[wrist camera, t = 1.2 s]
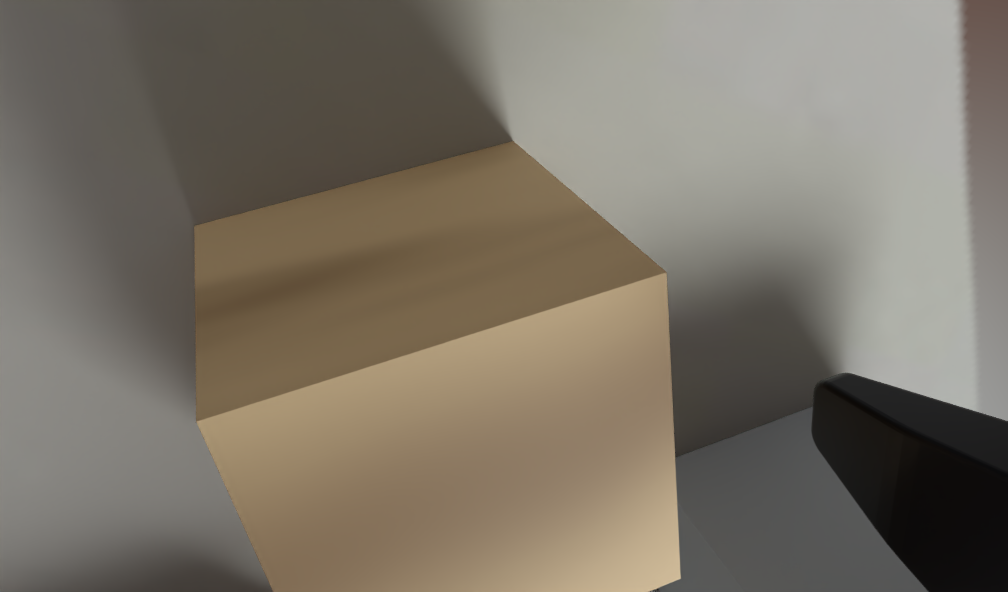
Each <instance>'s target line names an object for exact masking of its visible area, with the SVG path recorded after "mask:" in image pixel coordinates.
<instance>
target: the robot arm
mask: <svg viewBox="0 0 1008 592" xmlns="http://www.w3.org/2000/svg"><path fill="white" fill-rule="evenodd" d="M811 433H812V438H813V441H814V443H815V445H816V447H817V449H818V450H819V452H820V453H821V454H822V456H823V457H824V459H825V460H826V461H827V463H828V464H829V466H830V467H831V468H832V470H833V471H834V472H835V474H836V475H837V477H838V478H839V479H840V481H841V482H842V484H843V485H844V486H845V488H846V489H847V491H848V492H849V493H850V495H851V496H852V497H853V499H854V500H855V502H856V503H857V504H858V506H859V507H860V509H861V510H862V511H863V513H864V514H865V516H866V517H867V518H868V520H869V521H870V522H871V524H872V525H873V527H874V528H875V529H876V531H877V532H878V533H879V535H880V536H881V537H882V538H883V540H884V541H885V542H886V544H887V545H888V546H889V547H890V548H891V550H892V551H893V552H894V553H895V554H896V555H897V557H898V558H899V559H900V560H901V561H902V562H903V564H904V565H905V566H906V567H907V568H908V569H909V570H910V572H911V573H912V574H913V575H914V576H915V577H916V578H917V579H918V581H919V582H920V583H921V584H922V585H923V586H924V587H925V588H926V590H927V591H928V592H1008V421H1005V420H1002V419H999V418H996V417H992V416H989V415H986V414H982V413H979V412H976V411H973V410H969V409H966V408H963V407H959V406H956V405H953V404H950V403H946V402H943V401H940V400H937V399H933V398H930V397H927V396H923V395H920V394H917V393H914V392H910V391H907V390H904V389H900V388H897V387H894V386H891V385H887V384H884V383H881V382H877V381H874V380H871V379H868V378H864V377H861V376H858V375H855V374H851V373H841V374H838V375H835V376H833V377H830V378H827V379H824V380H822V381H820V382H818V383H817V385H816V386H815V388H814V395H813V409H812V423H811Z"/></svg>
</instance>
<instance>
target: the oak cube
mask: <svg viewBox="0 0 1008 592" xmlns="http://www.w3.org/2000/svg"><path fill="white" fill-rule="evenodd" d="M194 236H195V339H196V422H197V424H198V427H199V429H200V431H201V433H202V435H203V438H204V440H205V442H206V444H207V446H208V449H209V451H210V453H211V455H212V458H213V460H214V462H215V464H216V466H217V469H218V471H219V473H220V475H221V478H222V480H223V482H224V484H225V486H226V489H227V491H228V493H229V495H230V497H231V500H232V502H233V504H234V506H235V509H236V511H237V513H238V515H239V517H240V520H241V522H242V524H243V526H244V528H245V531H246V533H247V535H248V537H249V540H250V542H251V544H252V546H253V548H254V551H255V553H256V555H257V557H258V559H259V562H260V564H261V566H262V568H263V571H264V573H265V575H266V577H267V579H268V582H269V584H270V586H271V588H272V590H273V592H649V591H652V590H654V589H657V588H659V587H662V586H664V585H666V584H669V583H671V582H674V581H676V580H679V579H681V575H680V553H679V531H678V509H677V488H676V466H675V444H674V422H673V400H672V379H671V357H670V335H669V313H668V291H667V272H666V271H665V270H663V269H662V268H661V267H660V266H659V265H657V264H656V263H655V262H654V261H653V260H652V259H650V258H649V257H648V256H647V255H646V254H645V253H643V252H642V251H641V250H640V249H639V248H638V247H636V246H635V245H634V244H633V243H632V242H631V241H629V240H628V239H627V238H626V237H625V236H624V235H622V234H621V233H620V232H619V231H618V230H617V229H615V228H614V227H613V226H612V225H611V224H610V223H608V222H607V221H606V220H605V219H604V218H603V217H601V216H600V215H599V214H598V213H597V212H596V211H594V210H593V209H592V208H591V207H590V206H588V205H587V204H586V203H585V202H584V201H583V200H581V199H580V198H579V197H578V196H577V195H576V194H574V193H573V192H572V191H571V190H570V189H569V188H567V187H566V186H565V185H564V184H563V183H562V182H560V181H559V180H558V179H557V178H556V177H555V176H553V175H552V174H551V173H550V172H549V171H548V170H546V169H545V168H544V167H543V166H542V165H541V164H539V163H538V162H537V161H536V160H535V159H534V158H532V157H531V156H530V155H529V154H528V153H526V152H525V151H524V150H523V149H522V148H521V147H519V146H518V145H517V144H516V143H515V142H514V141H511V142H508V143H504V144H500V145H496V146H493V147H489V148H485V149H481V150H478V151H474V152H470V153H466V154H462V155H459V156H455V157H451V158H447V159H444V160H440V161H436V162H432V163H429V164H425V165H421V166H417V167H414V168H410V169H406V170H402V171H399V172H395V173H391V174H387V175H384V176H380V177H376V178H372V179H368V180H365V181H361V182H357V183H353V184H350V185H346V186H342V187H338V188H335V189H331V190H327V191H323V192H320V193H316V194H312V195H308V196H305V197H301V198H297V199H293V200H290V201H286V202H282V203H278V204H275V205H271V206H267V207H263V208H259V209H256V210H252V211H248V212H244V213H241V214H237V215H233V216H229V217H226V218H222V219H218V220H214V221H211V222H207V223H203V224H199V225H196V226H194Z"/></svg>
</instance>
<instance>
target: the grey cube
mask: <svg viewBox="0 0 1008 592" xmlns="http://www.w3.org/2000/svg"><path fill="white" fill-rule="evenodd" d="M812 409H813V407H810V408H807V409H805V410H802V411H799V412H797V413H794V414H791V415H789V416H786V417H783V418H781V419H778V420H775V421H773V422H770V423H767V424H765V425H762V426H759V427H757V428H754V429H751V430H749V431H746V432H743V433H740V434H738V435H735V436H732V437H730V438H727V439H724V440H722V441H719V442H716V443H714V444H711V445H708V446H706V447H703V448H700V449H698V450H695V451H692V452H690V453H687V454H684V455H682V456H679V457H676V458H675V466H676V488H677V509H678V531H679V553H680V575H681V579H679V580H676V581H674V582H671V583H669V584H666V585H664V586H662V587H659V592H928V591H927V590H926V588H925V587H924V586H923V585H922V584H921V583H920V582H919V581H918V579H917V578H916V577H915V576H914V575H913V574H912V573H911V572H910V570H909V569H908V568H907V567H906V566H905V565H904V564H903V562H902V561H901V560H900V559H899V558H898V557H897V555H896V554H895V553H894V552H893V551H892V550H891V548H890V547H889V546H888V545H887V544H886V542H885V541H884V540H883V538H882V537H881V536H880V535H879V533H878V532H877V531H876V529H875V528H874V527H873V525H872V524H871V522H870V521H869V520H868V518H867V517H866V516H865V514H864V513H863V511H862V510H861V509H860V507H859V506H858V504H857V503H856V502H855V500H854V499H853V497H852V496H851V495H850V493H849V492H848V491H847V489H846V488H845V486H844V485H843V484H842V482H841V481H840V479H839V478H838V477H837V475H836V474H835V472H834V471H833V470H832V468H831V467H830V466H829V464H828V463H827V461H826V460H825V459H824V457H823V456H822V454H821V453H820V452H819V450H818V449H817V447H816V445H815V443H814V441H813V438H812V433H811V423H812Z"/></svg>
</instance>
